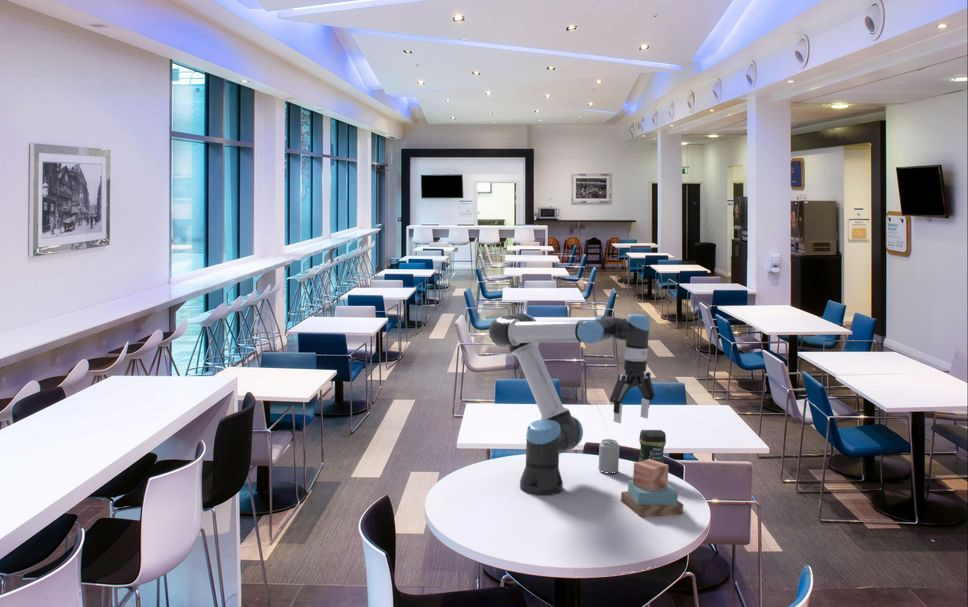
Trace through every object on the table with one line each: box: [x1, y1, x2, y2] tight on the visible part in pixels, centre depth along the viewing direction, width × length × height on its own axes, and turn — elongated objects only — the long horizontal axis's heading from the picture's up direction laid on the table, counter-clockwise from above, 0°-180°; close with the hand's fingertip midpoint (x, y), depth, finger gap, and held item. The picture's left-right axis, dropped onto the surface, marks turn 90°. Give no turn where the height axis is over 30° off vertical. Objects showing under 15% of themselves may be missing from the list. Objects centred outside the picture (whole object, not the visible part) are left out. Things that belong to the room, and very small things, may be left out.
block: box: [632, 459, 670, 491], centre depth 261 cm, size 8×8×8 cm
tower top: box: [627, 479, 679, 505], centre depth 261 cm, size 13×13×4 cm
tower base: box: [620, 490, 684, 518], centre depth 261 cm, size 15×15×4 cm
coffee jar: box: [638, 429, 667, 463], centre depth 291 cm, size 10×8×19 cm
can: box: [597, 438, 620, 474], centre depth 298 cm, size 8×8×12 cm
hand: (630, 420), depth 270 cm, fingers open, 13 cm apart
